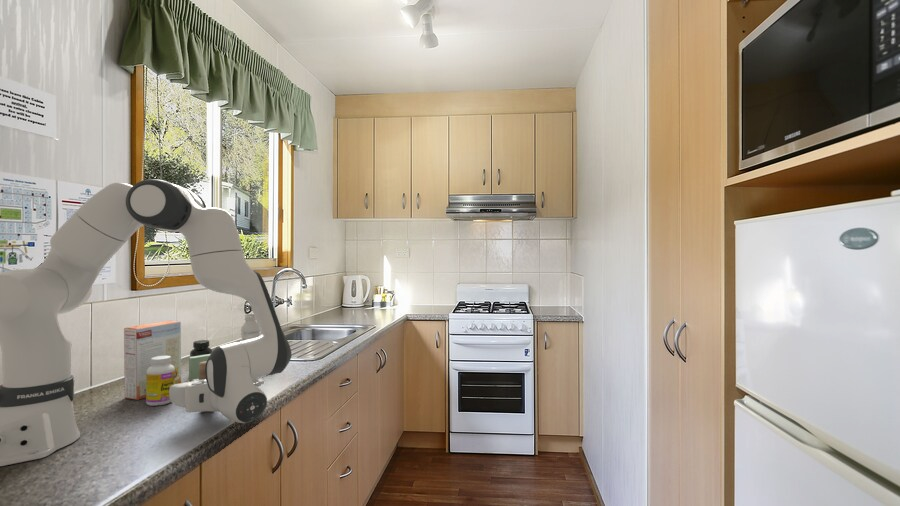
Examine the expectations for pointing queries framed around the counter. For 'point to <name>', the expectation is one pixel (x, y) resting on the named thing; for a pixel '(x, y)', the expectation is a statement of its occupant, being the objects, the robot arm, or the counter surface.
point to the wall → (196, 366)
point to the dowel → (202, 370)
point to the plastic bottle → (250, 328)
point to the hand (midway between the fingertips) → (206, 380)
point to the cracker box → (149, 353)
